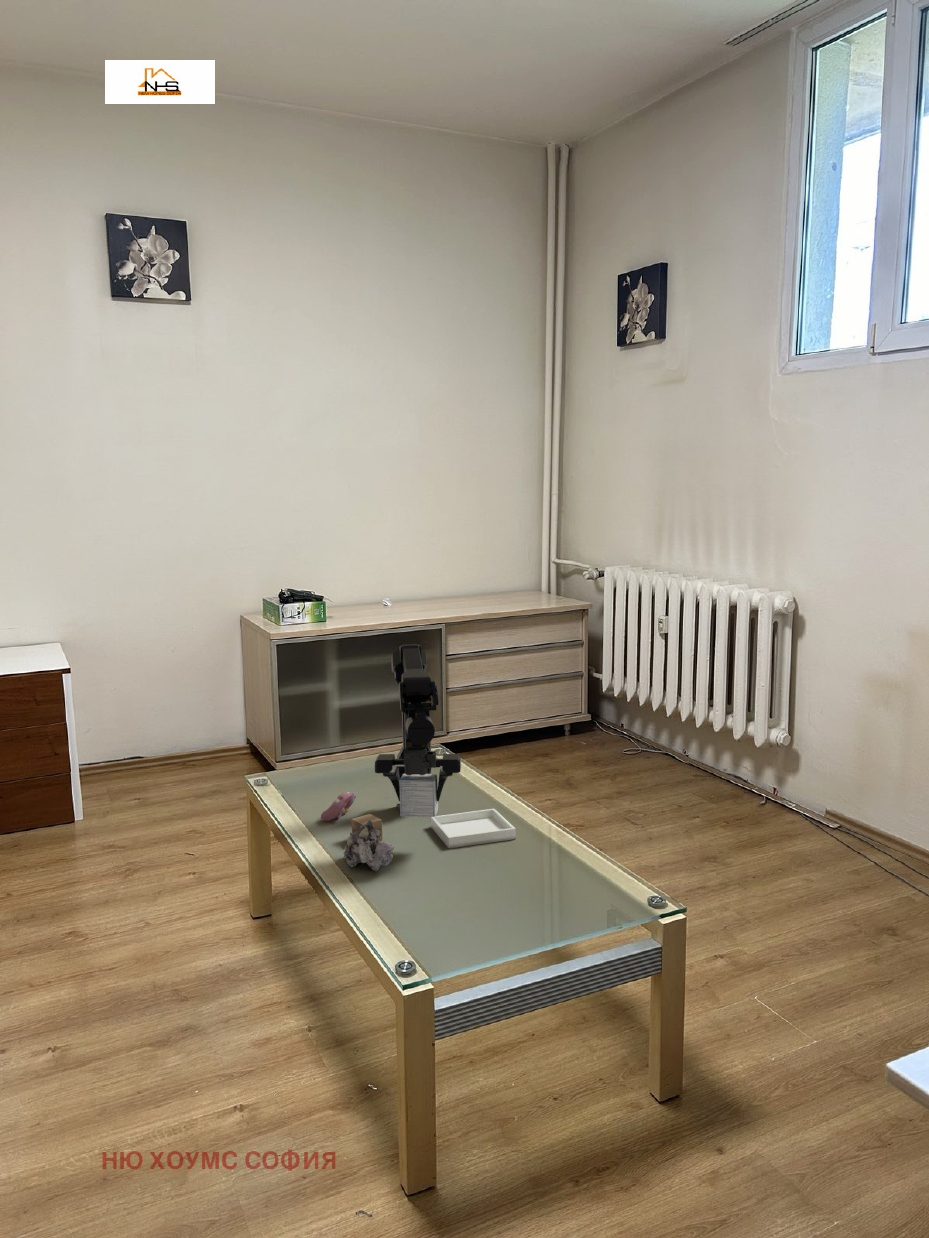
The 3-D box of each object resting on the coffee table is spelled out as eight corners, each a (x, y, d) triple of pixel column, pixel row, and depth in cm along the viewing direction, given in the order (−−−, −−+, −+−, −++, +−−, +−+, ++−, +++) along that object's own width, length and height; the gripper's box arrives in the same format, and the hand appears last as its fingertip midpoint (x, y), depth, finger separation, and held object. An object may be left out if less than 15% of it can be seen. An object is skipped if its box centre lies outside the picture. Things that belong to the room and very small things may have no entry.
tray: (431, 826, 219) (430, 816, 218) (494, 818, 224) (494, 808, 224) (449, 848, 206) (448, 837, 205) (515, 838, 211) (515, 828, 210)
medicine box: (438, 810, 207) (437, 773, 205) (435, 818, 202) (434, 779, 201) (403, 810, 207) (402, 772, 206) (400, 817, 203) (399, 779, 202)
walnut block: (352, 839, 212) (351, 818, 211) (370, 834, 215) (369, 813, 214) (363, 846, 208) (363, 824, 207) (382, 840, 211) (381, 819, 210)
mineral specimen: (400, 858, 191) (377, 810, 193) (355, 880, 188) (333, 832, 191) (396, 863, 203) (375, 819, 206) (355, 885, 200) (334, 839, 203)
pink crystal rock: (333, 829, 222) (344, 805, 220) (318, 819, 223) (329, 796, 221) (351, 815, 232) (361, 792, 230) (336, 806, 233) (346, 783, 231)
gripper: (370, 742, 194) (372, 813, 197) (459, 742, 194) (460, 813, 196) (376, 728, 206) (378, 796, 208) (460, 728, 205) (461, 795, 207)
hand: (419, 800), depth 204 cm, fingers closed on medicine box, 8 cm apart
